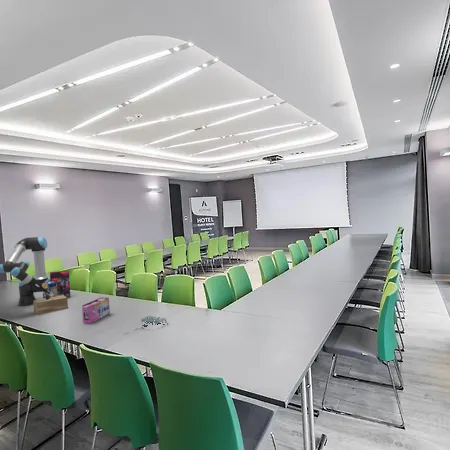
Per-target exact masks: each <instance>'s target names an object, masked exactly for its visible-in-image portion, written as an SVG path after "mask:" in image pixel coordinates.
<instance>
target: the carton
mask: <svg viewBox="0 0 450 450" xmlns="http://www.w3.org/2000/svg"><path fill="white" fill-rule="evenodd" d="M50 299H51V300H52V301H48V302H44V303H39V304H37V303H35V302H33V304H32V306H33V312H34V313H35V314H36V315H37V316H40V315H44V314H48V313H52V312H57V311H61V310H66V309H69V305H68V304H69V303H68V297H66V296H64V295H60V296H55V297H50Z"/></svg>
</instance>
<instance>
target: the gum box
mask: <svg viewBox="0 0 450 450" xmlns="http://www.w3.org/2000/svg"><path fill="white" fill-rule="evenodd" d="M81 307H82V312H81V313H82V323H83V324H93V323H94V322H93V321H95V322H96V320H97V321H98V319H99V320H101V319H102V317H103V316H105V315H107V314H109V313H110V314H111V310H110V297H99V298H97V299H94V300H93V301H89V302H87V303H84V304H82V305H81ZM110 314H109V315H110ZM107 316H108V315H107ZM105 317H106V316H105ZM100 318H101V319H100ZM103 318H104V317H103ZM92 322H93V323H92Z"/></svg>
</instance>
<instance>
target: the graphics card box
mask: <svg viewBox="0 0 450 450" xmlns="http://www.w3.org/2000/svg"><path fill="white" fill-rule="evenodd" d="M49 279H50V281H51V282H57V294H58V296H60V295H64V296H66V297H67V298H71V287H70V284H71V283H70V270H61V271H50V272H49Z"/></svg>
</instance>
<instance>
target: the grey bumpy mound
mask: <svg viewBox="0 0 450 450" xmlns="http://www.w3.org/2000/svg"><path fill="white" fill-rule="evenodd" d="M154 320H155V321H154ZM140 321H141V323H142V322H145V321H146V322H147V323H146V322H145V323H146V324H148V323H149V322H150V323H152V325H153V322H154V323H155V325H156V324H157V325H158V324H161V323H160V322H162V323H167V318H165V317H156V316H153V315H148V316H146V317H143V318H140ZM164 321H165V322H164ZM150 323H149V324H150ZM142 326H144V327H147V326H148V325H145V324H144V325H142Z"/></svg>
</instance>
